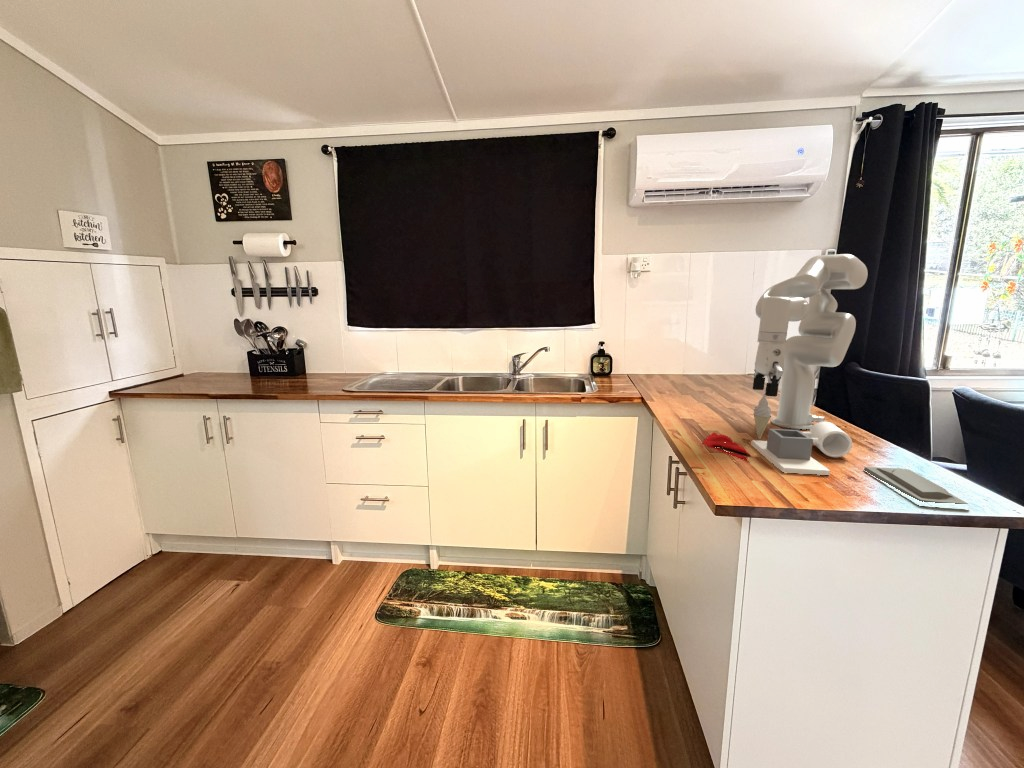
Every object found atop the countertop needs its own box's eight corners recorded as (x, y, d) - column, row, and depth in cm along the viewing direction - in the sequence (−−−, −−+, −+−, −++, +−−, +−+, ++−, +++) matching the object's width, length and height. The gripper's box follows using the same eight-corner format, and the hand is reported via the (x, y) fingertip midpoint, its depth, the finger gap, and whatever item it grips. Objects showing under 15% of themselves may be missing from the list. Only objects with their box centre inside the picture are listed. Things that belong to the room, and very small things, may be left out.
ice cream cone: (746, 436, 144) (752, 392, 141) (761, 436, 144) (767, 391, 141) (756, 442, 139) (762, 395, 136) (771, 441, 139) (777, 395, 136)
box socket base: (789, 446, 135) (792, 423, 133) (829, 476, 114) (833, 448, 112) (751, 444, 136) (754, 421, 135) (783, 473, 115) (787, 445, 114)
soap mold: (906, 476, 115) (908, 463, 115) (969, 513, 96) (973, 498, 95) (862, 473, 117) (864, 460, 116) (916, 509, 98) (919, 494, 97)
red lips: (696, 432, 150) (697, 426, 150) (740, 436, 146) (741, 430, 146) (706, 460, 126) (707, 452, 125) (760, 465, 122) (761, 458, 121)
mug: (836, 447, 135) (840, 422, 133) (850, 459, 126) (854, 432, 124) (791, 443, 138) (795, 418, 137) (801, 454, 129) (805, 428, 127)
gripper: (798, 341, 126) (790, 399, 129) (772, 336, 143) (765, 388, 146) (770, 340, 127) (762, 398, 130) (748, 335, 144) (741, 386, 147)
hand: (764, 392), depth 138 cm, fingers open, 9 cm apart
